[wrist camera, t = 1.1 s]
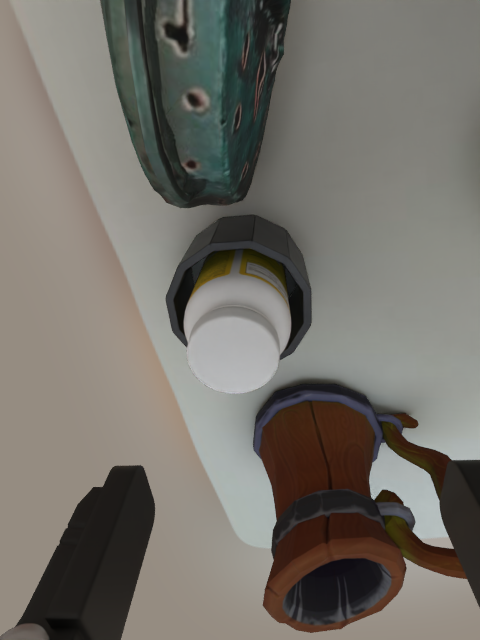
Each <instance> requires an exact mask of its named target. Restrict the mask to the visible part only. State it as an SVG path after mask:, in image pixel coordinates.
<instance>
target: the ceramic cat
mask: <svg viewBox="0 0 480 640" xmlns="http://www.w3.org/2000/svg"><path fill="white" fill-rule="evenodd" d="M100 2H101V8H102V13H103V19H104V24H105V30H106V36H107V41H108V47H109V52H110V57H111V63H112V68H113V74H114V79H115V84H116V88H117V92H118V95H119V99H120V102H121V106H122V109H123V113H124V116H125V120H126V123H127V126H128V130H129V133H130V137H131V140H132V143H133V146H134V148H135V151H136V154H137V156H138V159H139V162H140V164H141V167H142V169H143V171H144V173H145V175H146V177H147V178H148V180H149V182H150V184H151V186H152V187H153V189H154V190H155V191H156V192H157V193H159V194H160V195H161V196H162V198H163V199H164V200H165V201H166V202H167V203H169V204H172V205H174V206H177V207H180V208H192V207H196V206H199V205H206V204H210V205H229V204H232V203H235V202H239V201H242V200H243V199H244V198H245V197H246V195H247V192H248V190H249V188H250V185H251V182H252V178H253V174H254V170H255V166H256V163H257V160H258V156H259V153H260V148H261V144H262V140H263V135H264V130H265V125H266V120H267V115H268V110H269V104H270V98H271V92H272V88H273V84H274V81H275V74H276V70H277V66H278V64H279V62H280V60H281V58H282V56H283V55H284V36H285V31H286V26H287V19H288V14H289V9H290V3H291V0H100Z"/></svg>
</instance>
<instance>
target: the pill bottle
mask: <svg viewBox="0 0 480 640" xmlns="http://www.w3.org/2000/svg"><path fill="white" fill-rule="evenodd" d="M184 332H185V336H186V339H187V342H188V345H187V361H188V364H189V367H190V369H191V371H192V372H193V374H194V375H195V376H196V378H197V379H198V380H199V381H201V382H202V383H203V384H204V385H206V386H208V387H209V388H211V389H214V390H216V391H219V392H223V393H230V394H242V393H247V392H251V391H254V390H257V389H259V388H261V387H262V386H264V385H265V384H267V383H268V382H269V381H270V380H271V379H272V377H273V376H274V374H275V373H276V371H277V368H278V366H279V361H280V355H281V353H282V352H283V351H284V349H285V347H286V345H287V343H288V340H289V337H290V333H291V315H290V308H289V299H288V292H287V284H286V275H285V269H284V265H283V263H281V262H278V261H276V260H274V259H272V258H270V257H268V256H265V255H263V254H261V253H259V252H257V251H255V250H252V249H237V250H223V251H213V252H212V253H210V254H209V255H208V256H207V258H206V260H205V262H204V264H203V267H202V269H201V272H200V274H199V277H198V279H197V281H196V284H195V287H194V289H193V291H192V294H191V296H190V299H189V301H188V304H187V306H186V310H185V315H184Z"/></svg>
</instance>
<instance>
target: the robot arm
mask: <svg viewBox="0 0 480 640" xmlns="http://www.w3.org/2000/svg"><path fill="white" fill-rule="evenodd" d="M440 512H441V517H442V520H443V523H444V526H445V529H446V531H447V533H448V535H449V538H450V540H451V542H452V545H453V547H454V549H455V552H456V554H457V556H458V559H459V561H460V563H461V566H462V568H463V570H464V573H465V575H466V577H467V579H468V582H469V584H470V586H471V589H472V591H473V593H474V596H475V598H476V600H477V603H478V605H479V607H480V460H452V461H449V462H448V464H447V468H446V472H445V477H444V482H443V486H442V491H441V496H440ZM154 517H155V503H154V499H153V496H152V492H151V489H150V486H149V483H148V480H147V476H146V473H145V470H144V468H143V466H141V465H140V466H114V467H113V468H112V469H111V471H110V473H109V475H108V477H107V479H106V481H105V484H104V486H103V487H93V488H92V490H91V491H90V492H89V493H88V494H87V495H86V496H85V497H84V498H83V499H82V500H81V501H80V503H79V504H78V505H77V507H76V509H75V511H74V513H73V515H72V517H71V519H70V521H69V523H68V528H67V529H66V530H65V531H64V534H63V536H62V537H61V540H60V544H59V546H57V548H56V550H55V552H54V554H53V556H52V558H51V560H50V562H49V564H48V566H47V568H46V570H45V572H44V574H43V576H42V578H41V580H40V582H39V584H38V586H37V588H36V590H35V592H34V594H33V596H32V598H31V600H30V602H29V604H28V606H27V608H26V610H25V612H24V614H23V616H22V617H21V619H20V620H19V622H18V623H17V625H16V626H15V627H14V628H12V629H10V630H8V631H7V632H5V633H4V634H2V635H1V636H0V640H121V637H122V633H123V630H124V626H125V622H126V619H127V615H128V612H129V608H130V605H131V601H132V598H133V594H134V591H135V587H136V584H137V580H138V577H139V573H140V569H141V566H142V562H143V559H144V556H145V552H146V548H147V545H148V541H149V538H150V534H151V531H152V527H153V523H154Z"/></svg>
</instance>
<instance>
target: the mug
mask: <svg viewBox="0 0 480 640" xmlns="http://www.w3.org/2000/svg"><path fill="white" fill-rule="evenodd" d="M417 426H418V421H417V420H415V419H414V418H412V417H411V416H409V415H407V414H406V413H402V414H391V415H386V414H376V412H375V411H374V409H373V407H372V405H371V404H370V402H369V400H368V399H367V397H366V396H364V395H362V394H359V393H357V392H354V391H352V390H349V389H347V388H344V387H342V386H339V385H337V384H302V385H299V386H295V387H292V388H288V389H284V390H280V391H277V392H275V393H274V394H273V395H272V397H271V398H270V399H269V400H268V402H267V403H266V404H265V405H264V407H263V408H262V409H261V410H260V411H259V413H258V414H257V416H256V421H255V431H254V440H253V447H254V451H255V452H256V453H257V455H258V456H259V457H260V458H261V459H262V461H263V464H264V467H265V469H266V472H267V474H268V477H269V480H270V482H271V485H272V491H273V497H274V503H275V510H276V518H277V522H276V525H275V527H274V529H273V537H272V549H271V551H272V555H273V559H274V562H273V565H272V568H271V572H270V575H269V578H268V581H267V585H266V588H265V594H264V601H263V606H264V608H265V609H266V610H267V611H268V613H269V614H270V615H271V616H272V617H273V618H274V619H275V620H276V621H277V622H279V623H286V624H287V625H289V626H291V627H292V628H294V629H296V630H299V631H304V632H310V633H313V632H319V631H327V630H335V629H342V628H343V627H345V626H346V625H348V624H350V623H352V622H354V621H357V620H359V619H362V618H364V617H367V616H369V615H372V614H374V613H376V612H379V611H381V610H382V609H383V608H384V607H385V606H386V605H387V604H388V603H389V602H390V601H391V600H392V599H393V598H394V597H395V596H396V595H397V594H398V592H399V591H400V589H401V588H402V585H403V581H404V576H405V572H406V564H405V561H404V559H403V557H405V558H406V559H408V560H410V561H411V562H413V563H415V564H417V565H418V566H421V567H423V568H426V569H429V570H431V571H434V572H437V573H440V574H443V575H446V576H451V577H456V578H463V579H467V577H466V575H465V573H464V570H463V568H462V566H461V563H460V561H459V559H458V556H457V554H456V552H455V549H449V548H441V547H434V546H431V545H428V544H425V543H423V542H422V541H421V540H420V539H419V538H418V537H417V536H416V535H415V534H414V533H413V532H412V530H413V528H414V525H415V518H414V516H413V514H412V512H411V510H410V508H408V507H406V506H404V504H403V501H402V500H401V499H400V498H399V497H398V496H397V495H396V494H395V493H394V492H391V491H388V490H382V491H381V492H380V493H379V495H378V496H377V497H376V498H375V500H373V499H372V498H371V493H370V485H369V475H370V471H371V466H372V462H374V461H375V460H376V459H377V456H378V452H379V448H380V444H381V443H385V442H386V443H387V445H388V447H389V448H391V449H392V450H393V451H394V452H395V453H396V454H398V455H399V456H400V457H402V458H404V459H406V460H408V461H409V462H411V463H413V464H415V465H417V466H418V467H420V468H422V469H424V470H425V471H426V472H428V473H429V474H430V476H431V478H432V481H433V483H434V487H435V490H436V493H437V496H438V498H439V500H440V496H441V491H442V486H443V482H444V477H445V472H446V468H447V464H448V462H449V461H452V460H451V459H450V458H449V457H448V456H447V455H445V454H443V453H440V452H438V451H436V450H433V449H429V448H424V447H420V446H417V445H415V444H413V443H410V442H408V441H407V440H406V439H405V438H404V437H403V436H402V431H403V428H416V427H417Z"/></svg>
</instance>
